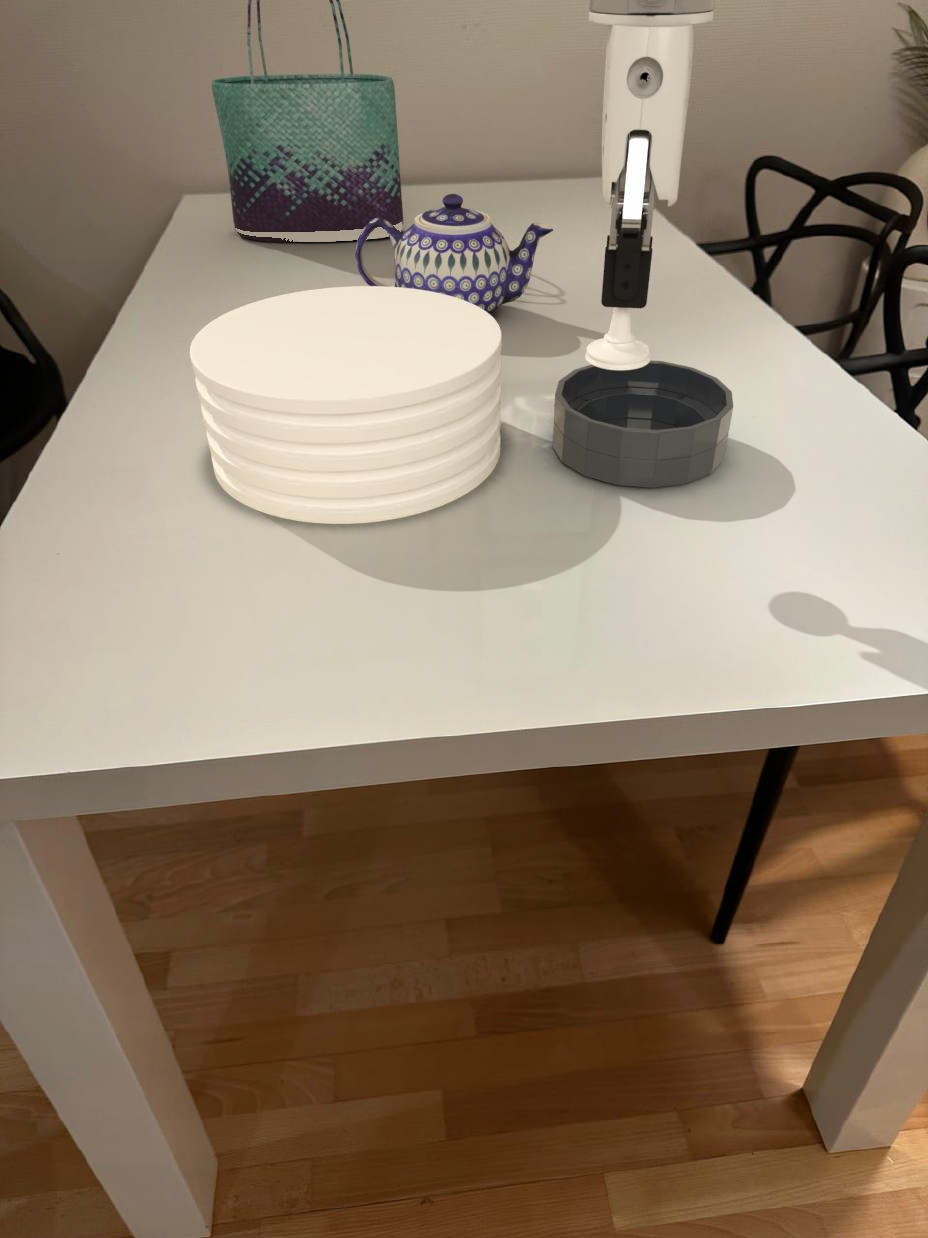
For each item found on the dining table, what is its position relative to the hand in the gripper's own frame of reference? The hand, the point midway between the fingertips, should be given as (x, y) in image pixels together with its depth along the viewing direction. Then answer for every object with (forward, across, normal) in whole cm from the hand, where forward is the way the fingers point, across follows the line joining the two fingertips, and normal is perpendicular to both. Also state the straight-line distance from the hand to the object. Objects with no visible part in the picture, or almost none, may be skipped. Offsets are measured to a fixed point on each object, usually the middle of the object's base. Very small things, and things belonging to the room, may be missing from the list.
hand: (624, 297), depth 65 cm
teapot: (+19, +49, +22) cm, 57 cm away
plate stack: (+19, +10, +24) cm, 33 cm away
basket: (+19, +85, +51) cm, 101 cm away
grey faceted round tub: (+19, +14, -3) cm, 24 cm away
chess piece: (+5, 0, 0) cm, 5 cm away
